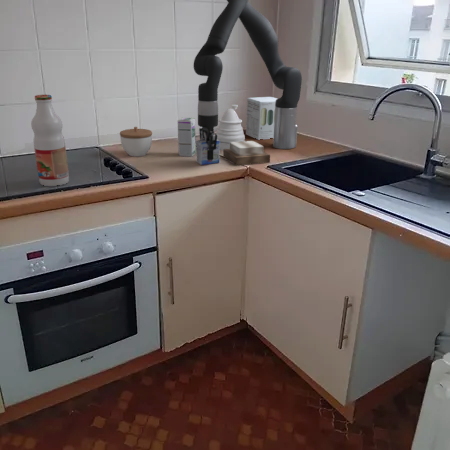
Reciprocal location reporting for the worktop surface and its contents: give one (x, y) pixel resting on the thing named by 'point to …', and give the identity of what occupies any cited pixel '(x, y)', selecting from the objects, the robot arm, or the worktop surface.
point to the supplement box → (260, 117)
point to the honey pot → (230, 129)
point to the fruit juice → (49, 144)
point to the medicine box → (202, 153)
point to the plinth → (246, 158)
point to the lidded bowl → (136, 141)
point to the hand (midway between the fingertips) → (207, 157)
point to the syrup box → (186, 137)
